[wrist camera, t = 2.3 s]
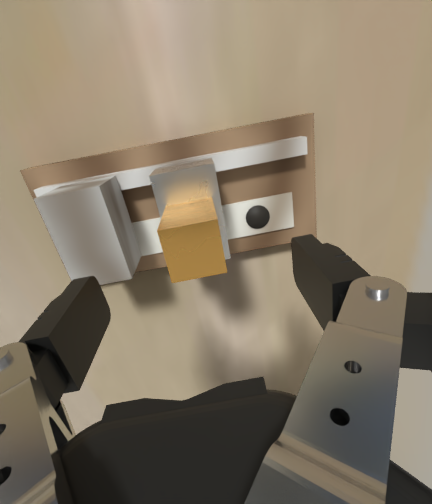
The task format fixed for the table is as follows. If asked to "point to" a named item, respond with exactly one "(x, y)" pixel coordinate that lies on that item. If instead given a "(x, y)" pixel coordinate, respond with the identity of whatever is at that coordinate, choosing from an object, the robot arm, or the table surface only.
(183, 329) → the table surface
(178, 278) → the block
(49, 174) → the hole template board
